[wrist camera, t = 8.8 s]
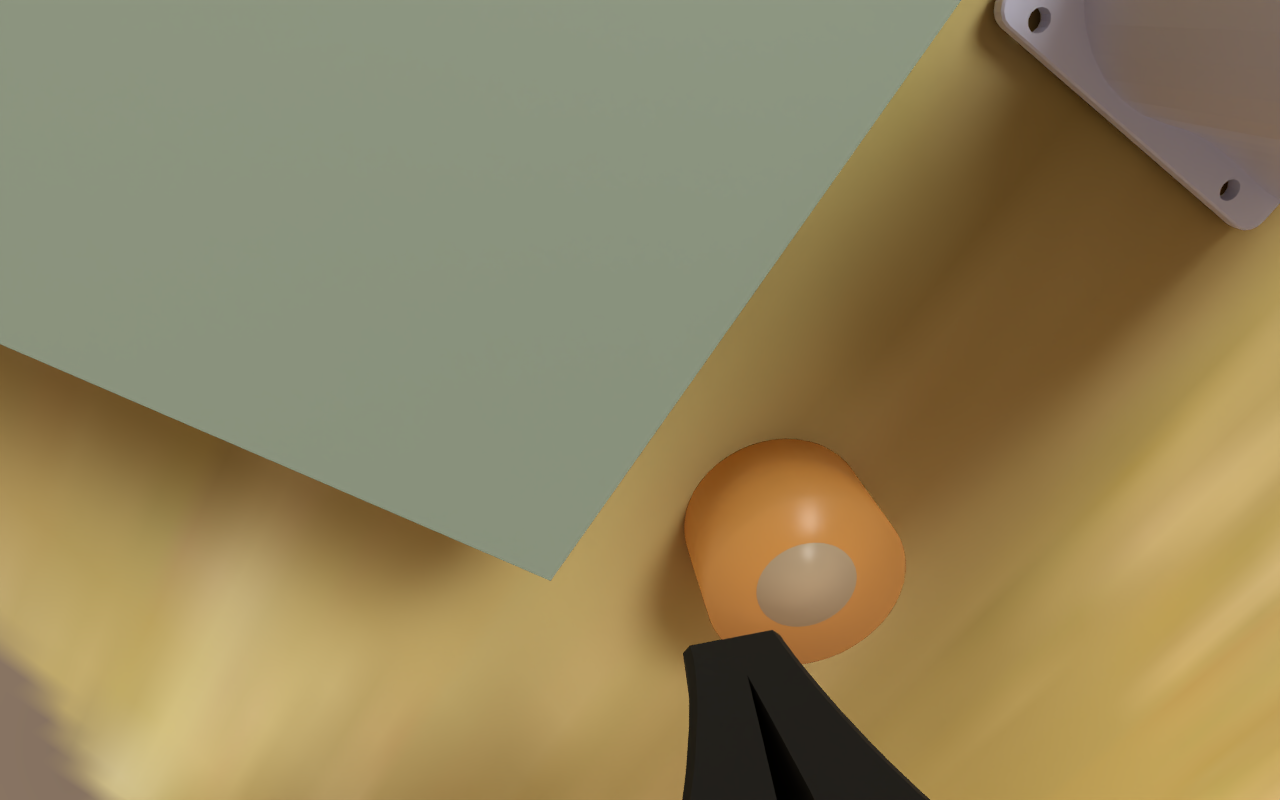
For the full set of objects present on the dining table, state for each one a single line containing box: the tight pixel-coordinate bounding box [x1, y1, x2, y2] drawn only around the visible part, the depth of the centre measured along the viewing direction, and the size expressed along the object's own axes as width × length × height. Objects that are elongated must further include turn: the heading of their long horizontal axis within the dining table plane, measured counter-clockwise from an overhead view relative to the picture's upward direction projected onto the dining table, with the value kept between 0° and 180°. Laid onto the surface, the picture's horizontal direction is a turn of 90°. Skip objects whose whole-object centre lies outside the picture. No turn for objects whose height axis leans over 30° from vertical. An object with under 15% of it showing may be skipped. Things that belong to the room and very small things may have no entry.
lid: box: [0, 0, 961, 581], centre depth 12 cm, size 16×14×1 cm
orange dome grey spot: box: [684, 439, 906, 664], centre depth 22 cm, size 5×5×3 cm
